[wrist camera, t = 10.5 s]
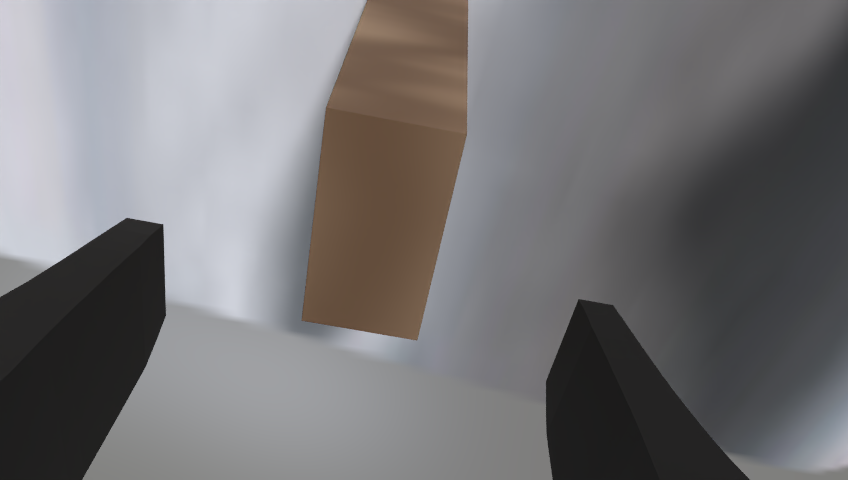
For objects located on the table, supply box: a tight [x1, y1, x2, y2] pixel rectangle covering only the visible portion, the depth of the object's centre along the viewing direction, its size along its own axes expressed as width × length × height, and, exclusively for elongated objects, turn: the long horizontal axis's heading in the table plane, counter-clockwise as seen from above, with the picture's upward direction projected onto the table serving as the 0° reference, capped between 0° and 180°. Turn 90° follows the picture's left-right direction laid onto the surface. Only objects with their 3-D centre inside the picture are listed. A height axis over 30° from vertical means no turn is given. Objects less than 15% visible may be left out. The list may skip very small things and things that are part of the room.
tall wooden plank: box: [302, 0, 468, 340], centre depth 17 cm, size 2×5×8 cm, turn 170°
